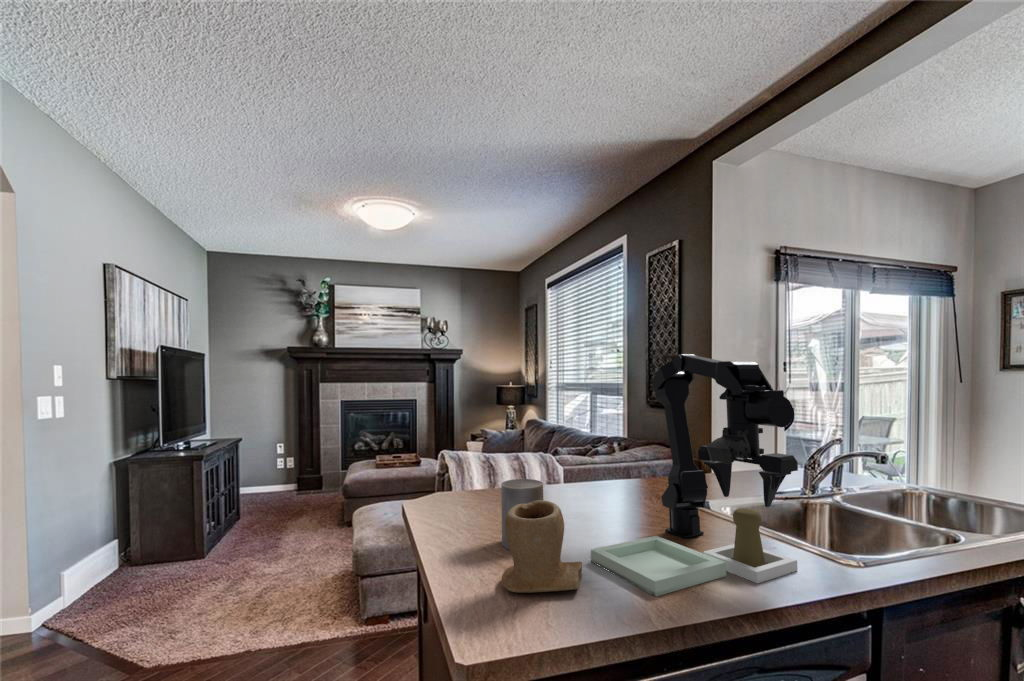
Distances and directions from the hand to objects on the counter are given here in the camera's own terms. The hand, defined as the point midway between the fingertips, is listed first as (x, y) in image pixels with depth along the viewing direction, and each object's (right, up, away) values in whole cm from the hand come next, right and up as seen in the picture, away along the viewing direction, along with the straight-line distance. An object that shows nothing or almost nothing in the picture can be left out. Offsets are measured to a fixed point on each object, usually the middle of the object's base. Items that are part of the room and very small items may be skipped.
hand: (746, 501), depth 97 cm
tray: (-19, -13, -2) cm, 23 cm away
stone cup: (-41, -12, -11) cm, 44 cm away
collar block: (0, -13, -1) cm, 13 cm away
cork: (0, -13, -1) cm, 13 cm away
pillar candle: (-45, -14, +12) cm, 48 cm away
